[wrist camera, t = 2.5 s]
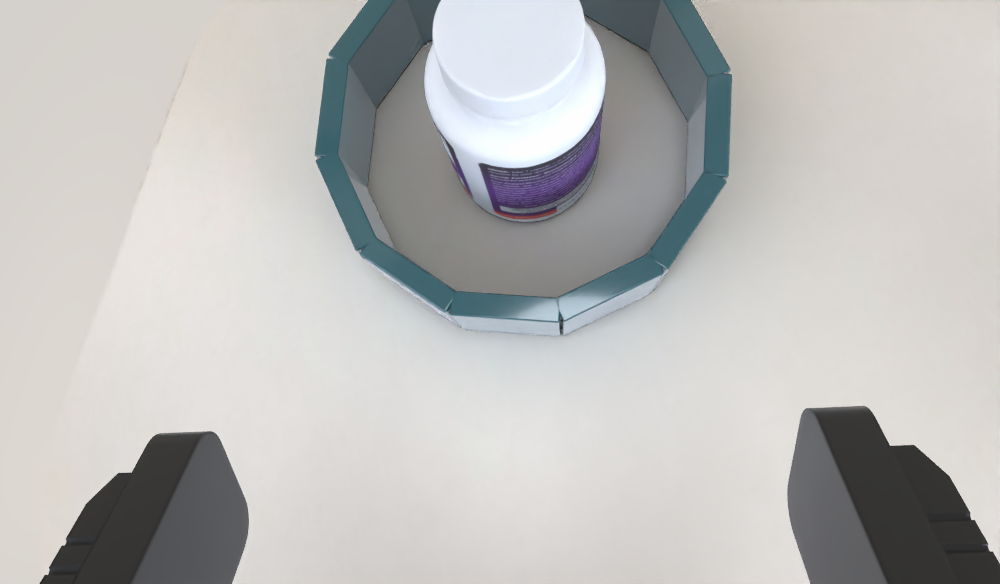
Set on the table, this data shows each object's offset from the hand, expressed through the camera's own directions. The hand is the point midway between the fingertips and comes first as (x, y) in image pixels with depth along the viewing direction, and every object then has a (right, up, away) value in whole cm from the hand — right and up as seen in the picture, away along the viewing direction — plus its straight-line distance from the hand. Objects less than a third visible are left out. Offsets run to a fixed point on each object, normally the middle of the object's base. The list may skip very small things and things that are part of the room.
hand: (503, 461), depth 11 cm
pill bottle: (+1, +8, +19) cm, 20 cm away
